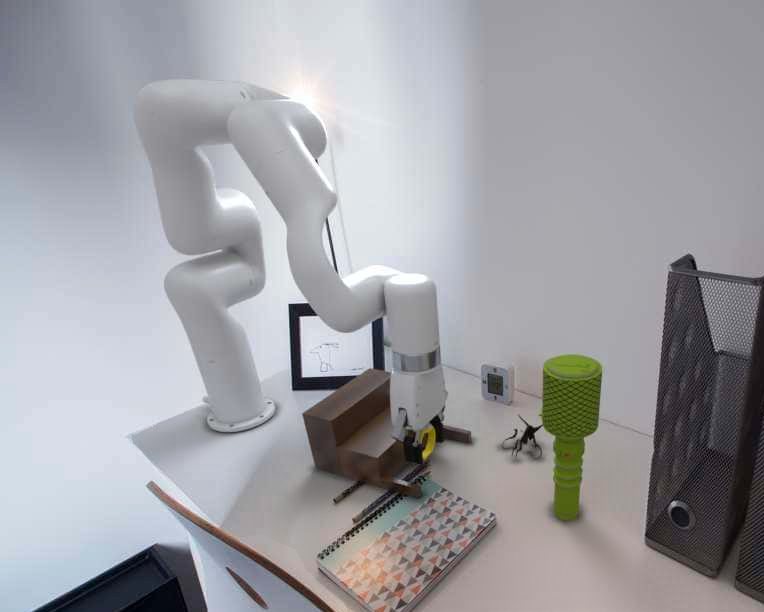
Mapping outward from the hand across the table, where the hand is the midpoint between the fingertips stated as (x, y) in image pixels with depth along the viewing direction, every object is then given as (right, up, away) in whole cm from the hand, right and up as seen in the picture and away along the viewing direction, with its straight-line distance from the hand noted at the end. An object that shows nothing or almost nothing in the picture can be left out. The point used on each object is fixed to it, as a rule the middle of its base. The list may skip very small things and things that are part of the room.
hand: (425, 450), depth 91 cm
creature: (+17, 0, +4) cm, 18 cm away
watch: (0, -1, +1) cm, 1 cm away
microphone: (+23, -9, -11) cm, 26 cm away
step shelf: (-6, -1, +4) cm, 7 cm away
